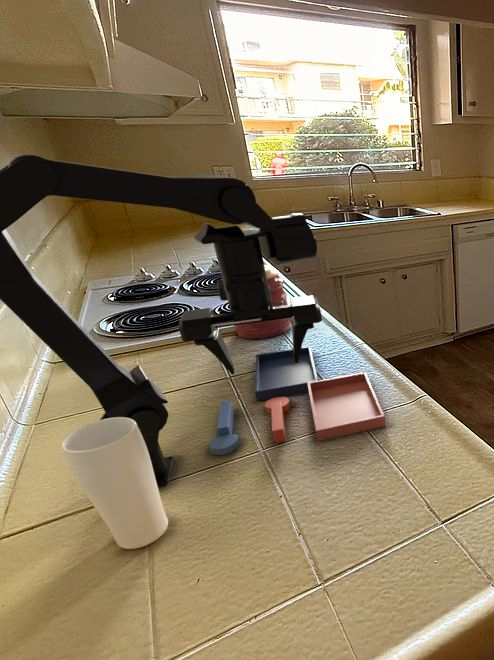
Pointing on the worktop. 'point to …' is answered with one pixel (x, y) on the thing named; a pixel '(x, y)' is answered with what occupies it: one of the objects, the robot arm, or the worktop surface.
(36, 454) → the worktop surface
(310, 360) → the navy tray
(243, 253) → the robot arm
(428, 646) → the worktop surface
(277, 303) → the kitchen canister
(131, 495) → the drinking glass
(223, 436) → the blue spoon
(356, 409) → the rose tray
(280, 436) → the terracotta spoon
